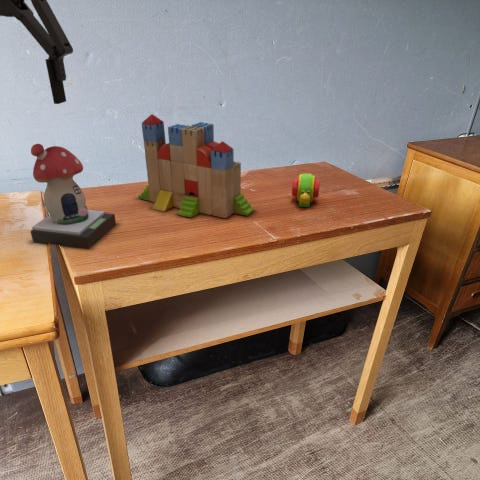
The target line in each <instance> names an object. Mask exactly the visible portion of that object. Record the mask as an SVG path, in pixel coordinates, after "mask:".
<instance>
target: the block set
mask: <svg viewBox="0 0 480 480" xmlns="http://www.w3.org/2000/svg"><path fill="white" fill-rule="evenodd" d="M214 127H215V125H214V123H212V122H211V123H210V122H202V121H199V122H196V123H193V124H191V125H188V124H187V125H185V124H179V123H176V124H174V125H173V124H172V125H169V126H167V135H168V143H167V141H166V132H165V122H164V120H162V119H160V118H159V117H158V116H156V115H155V114H153V113H151V114H149V116H148V117H146V118H145V119H144V120H143V121H142V122H141V130H142V131H141V132H142V137H143V138H142V139H143V148H144V158H145V165H146V175H147V176H146V177H147V184H148V185H147V186H146V187H145V188H144V189H143V191H142V192H141V193H140V194H138V199H139V200H144V201H147V202H152V203H154V204H153V206H152V209H153V210H157V211H160V212H166V211H169V210H170V209H171V208H173V207H174V208H178V209H179V210H178V211H177V215H178V216H182V217H185V218H192V217H194V216H196V215H198V214H199V213H200V214H204V215H209V216H214V217H218V218H222V219H227V218H229V217H230V216H232V215H233V214H237V215H241V216H249V215H250V214H252V213H253V212H254V211H255V207H254V206H252V204H251V203H250V202H248V198H245V194H244V193H241V192H242V191H241V187H242V186H241V185H242V162H240V161H234V159H235V156H234V154H235V153H234V151H235V150H234V148H233V147H232V146H230V145H229V144H228V143H227V142H225V141H220V143H219V142H217V141H215V140H214V139H215V137H214V135H215V133H214V130H215V128H214Z"/></svg>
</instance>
